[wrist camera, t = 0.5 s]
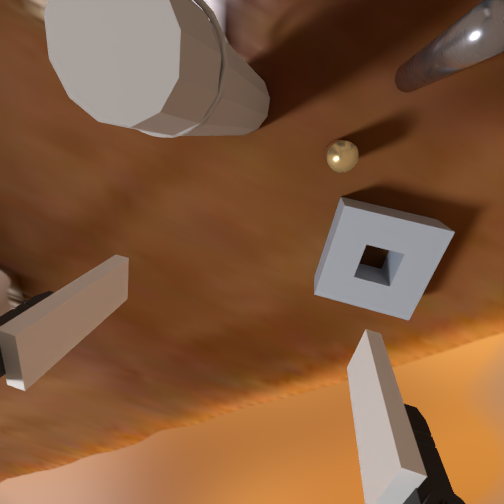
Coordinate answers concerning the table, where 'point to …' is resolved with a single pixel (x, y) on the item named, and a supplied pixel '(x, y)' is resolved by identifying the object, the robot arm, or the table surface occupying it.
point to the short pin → (341, 155)
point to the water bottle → (154, 67)
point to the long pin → (456, 47)
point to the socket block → (395, 265)
